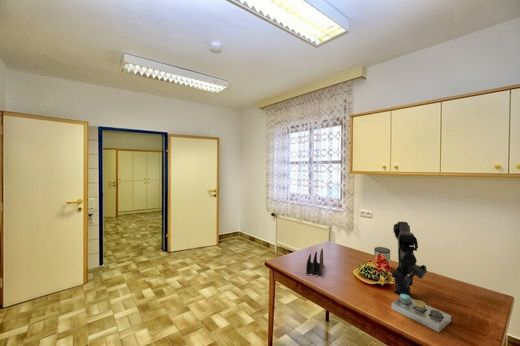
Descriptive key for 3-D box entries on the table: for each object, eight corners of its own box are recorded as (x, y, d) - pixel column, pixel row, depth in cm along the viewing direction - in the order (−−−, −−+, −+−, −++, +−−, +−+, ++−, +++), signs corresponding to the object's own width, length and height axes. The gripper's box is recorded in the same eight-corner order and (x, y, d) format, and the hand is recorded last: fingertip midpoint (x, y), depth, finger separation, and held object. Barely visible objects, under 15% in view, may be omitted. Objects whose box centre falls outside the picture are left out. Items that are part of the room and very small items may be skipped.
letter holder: (323, 265, 179) (323, 246, 178) (321, 277, 160) (321, 256, 159) (309, 263, 182) (309, 245, 181) (306, 275, 163) (306, 254, 163)
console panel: (391, 308, 124) (391, 302, 124) (404, 300, 131) (404, 295, 131) (438, 332, 106) (438, 325, 106) (450, 321, 113) (450, 315, 113)
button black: (428, 320, 114) (428, 312, 113) (432, 317, 116) (432, 308, 116) (439, 326, 110) (439, 317, 110) (444, 322, 112) (444, 313, 112)
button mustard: (412, 310, 119) (412, 301, 119) (417, 307, 122) (417, 299, 122) (422, 314, 116) (422, 306, 115) (427, 311, 118) (427, 303, 118)
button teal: (398, 303, 125) (398, 295, 125) (402, 300, 128) (402, 292, 128) (407, 307, 121) (407, 299, 121) (412, 304, 124) (412, 296, 124)
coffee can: (371, 265, 177) (371, 247, 176) (385, 265, 177) (385, 246, 176) (378, 272, 166) (379, 252, 166) (393, 271, 167) (393, 251, 166)
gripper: (415, 268, 111) (414, 301, 112) (432, 259, 122) (431, 288, 123) (391, 260, 121) (390, 290, 121) (408, 252, 131) (408, 280, 132)
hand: (406, 287), depth 124 cm, fingers closed
